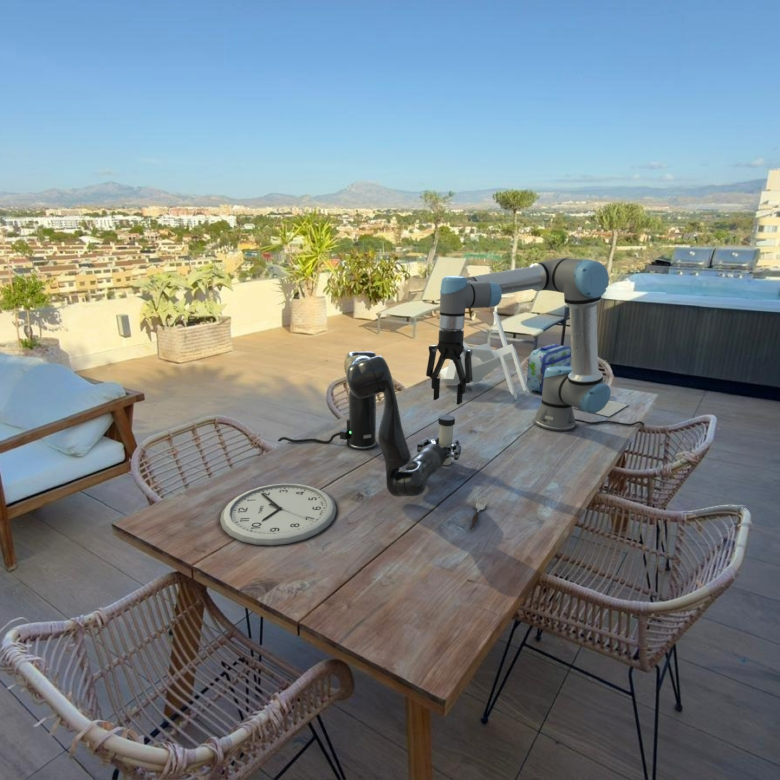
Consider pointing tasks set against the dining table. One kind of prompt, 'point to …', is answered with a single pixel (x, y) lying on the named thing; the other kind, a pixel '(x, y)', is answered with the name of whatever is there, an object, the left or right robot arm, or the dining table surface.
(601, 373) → the right robot arm
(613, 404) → the invitation card
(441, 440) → the jar
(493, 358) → the white plastic object
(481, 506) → the fork
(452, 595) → the dining table surface
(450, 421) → the lid
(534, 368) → the lunch box
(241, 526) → the wall clock
